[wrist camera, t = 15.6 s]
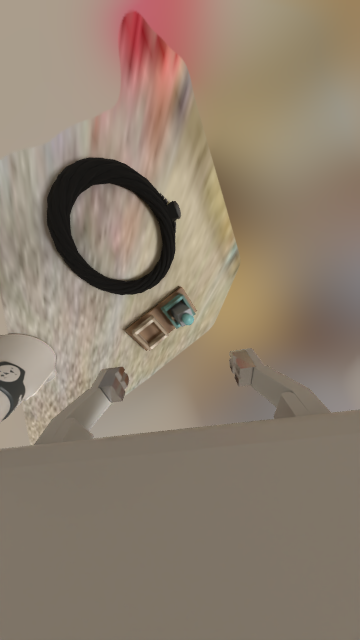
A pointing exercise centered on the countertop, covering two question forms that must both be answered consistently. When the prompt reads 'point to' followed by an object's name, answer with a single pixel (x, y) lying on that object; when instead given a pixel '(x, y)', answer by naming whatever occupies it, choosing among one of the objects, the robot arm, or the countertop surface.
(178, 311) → the knob
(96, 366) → the countertop surface
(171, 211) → the cable lock
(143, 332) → the brown divided tray
